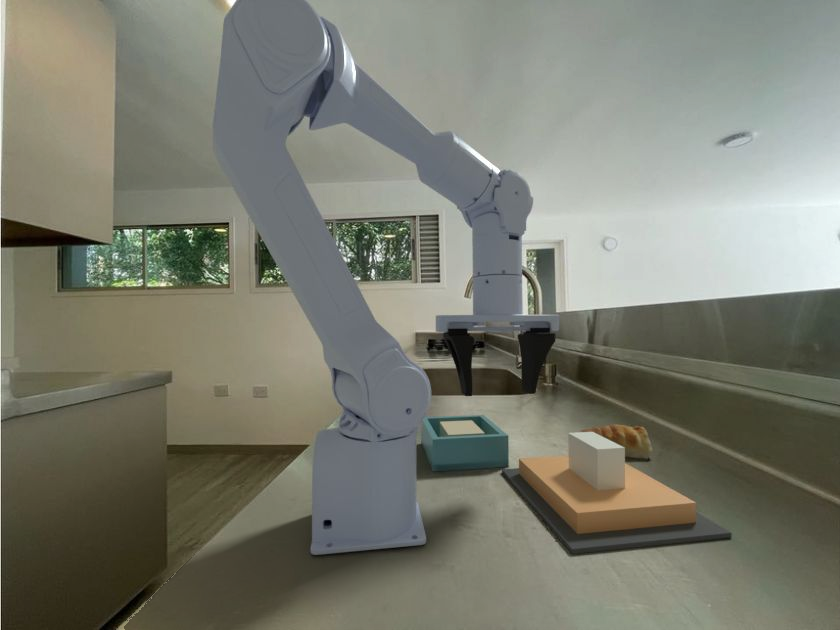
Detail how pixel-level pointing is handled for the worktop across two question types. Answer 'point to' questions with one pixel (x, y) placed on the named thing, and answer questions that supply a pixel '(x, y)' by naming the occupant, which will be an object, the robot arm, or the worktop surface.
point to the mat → (615, 538)
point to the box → (463, 443)
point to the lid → (603, 488)
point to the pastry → (627, 439)
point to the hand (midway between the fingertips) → (498, 393)
